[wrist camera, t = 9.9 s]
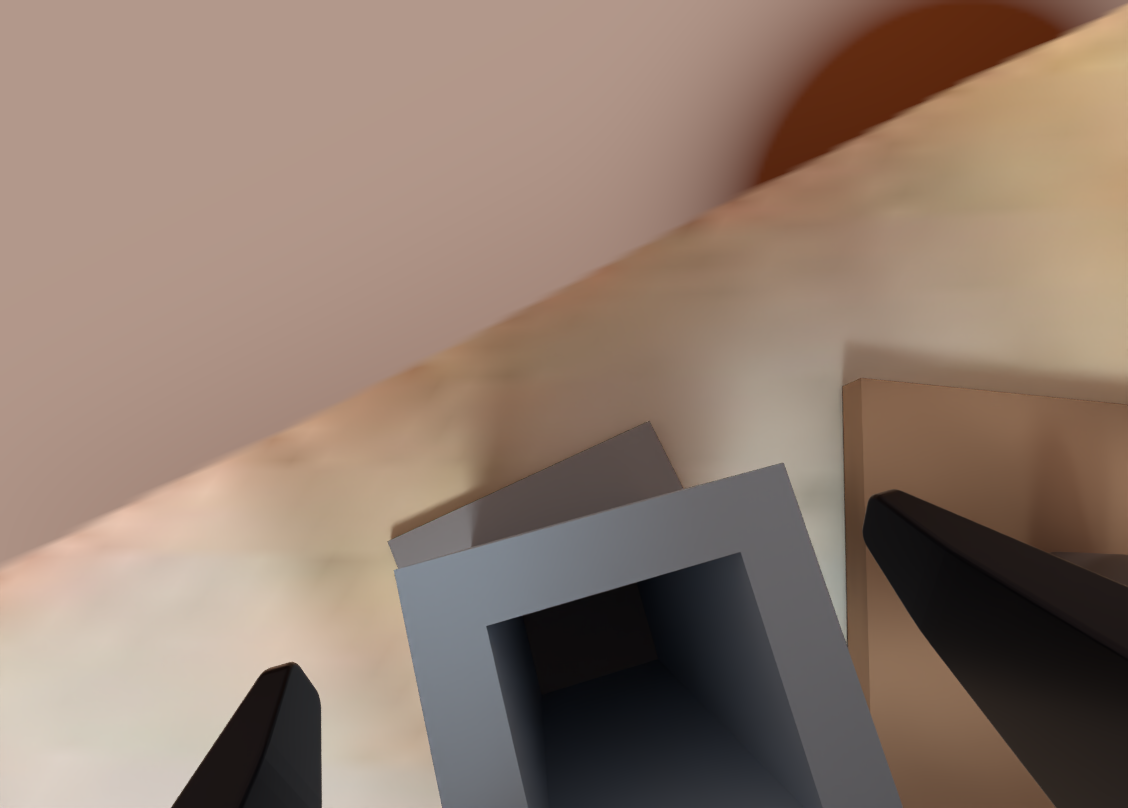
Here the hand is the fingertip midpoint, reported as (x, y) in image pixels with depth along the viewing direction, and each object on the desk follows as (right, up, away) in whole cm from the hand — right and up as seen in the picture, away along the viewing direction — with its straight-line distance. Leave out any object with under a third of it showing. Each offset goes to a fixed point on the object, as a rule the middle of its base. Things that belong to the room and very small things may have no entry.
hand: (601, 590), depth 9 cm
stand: (+13, -3, +8) cm, 15 cm away
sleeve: (0, -3, +7) cm, 7 cm away
